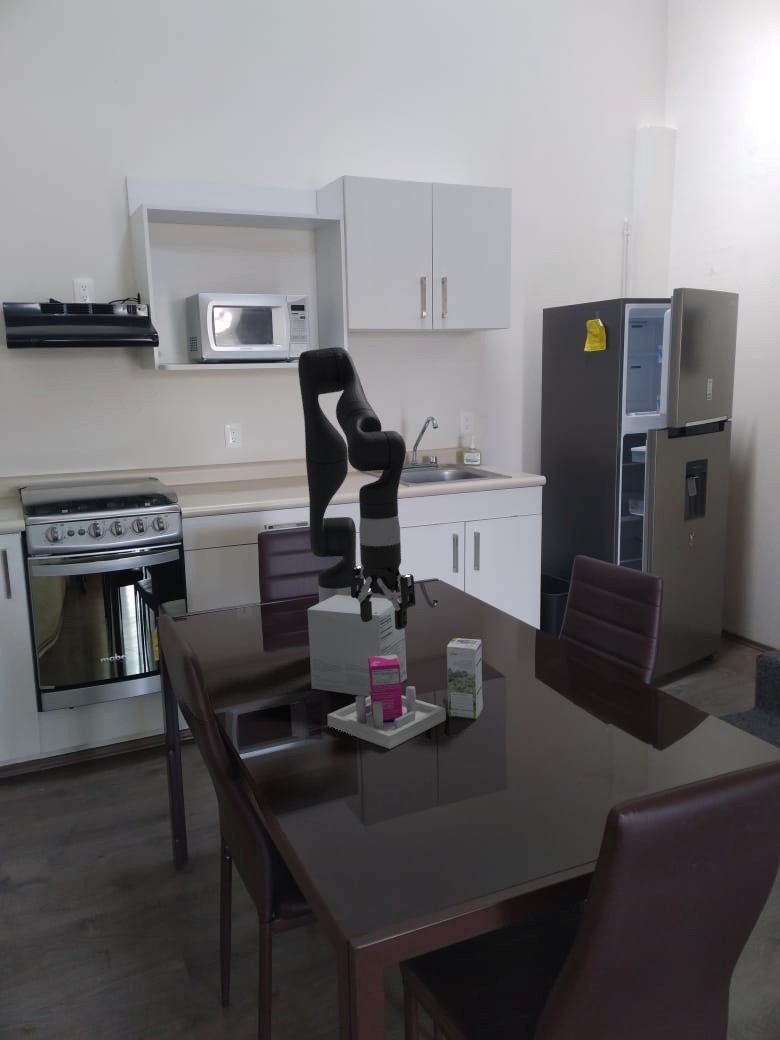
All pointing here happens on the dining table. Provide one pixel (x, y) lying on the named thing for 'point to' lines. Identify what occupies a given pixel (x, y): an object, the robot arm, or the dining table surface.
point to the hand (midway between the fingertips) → (383, 624)
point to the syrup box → (464, 678)
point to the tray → (389, 734)
